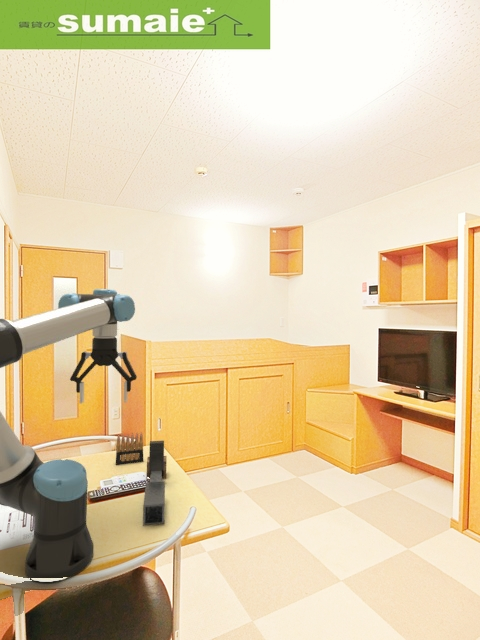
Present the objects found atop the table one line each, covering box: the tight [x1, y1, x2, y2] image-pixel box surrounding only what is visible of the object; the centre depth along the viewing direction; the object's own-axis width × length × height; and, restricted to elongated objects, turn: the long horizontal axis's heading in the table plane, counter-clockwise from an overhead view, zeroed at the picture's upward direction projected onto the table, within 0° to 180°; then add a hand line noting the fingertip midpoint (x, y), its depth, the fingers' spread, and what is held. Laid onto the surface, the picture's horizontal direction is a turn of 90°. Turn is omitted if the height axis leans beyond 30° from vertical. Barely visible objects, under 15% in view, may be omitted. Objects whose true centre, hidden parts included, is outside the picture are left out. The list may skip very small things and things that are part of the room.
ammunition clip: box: [115, 432, 144, 466], centre depth 149 cm, size 11×2×12 cm, turn 111°
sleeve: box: [142, 480, 166, 527], centre depth 114 cm, size 14×6×6 cm, turn 11°
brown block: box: [146, 455, 168, 480], centre depth 138 cm, size 5×7×6 cm
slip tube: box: [148, 440, 165, 482], centre depth 128 cm, size 22×5×14 cm, turn 11°
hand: (103, 402), depth 120 cm, fingers open, 13 cm apart
